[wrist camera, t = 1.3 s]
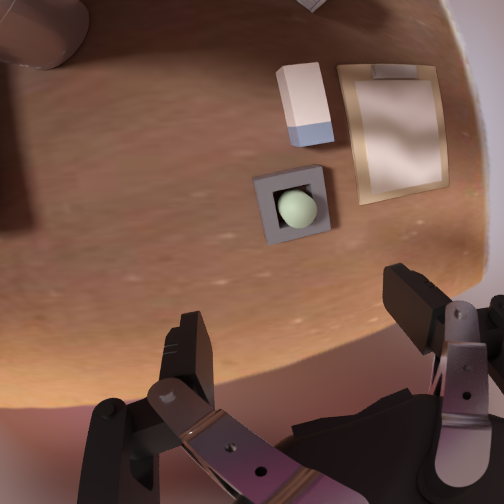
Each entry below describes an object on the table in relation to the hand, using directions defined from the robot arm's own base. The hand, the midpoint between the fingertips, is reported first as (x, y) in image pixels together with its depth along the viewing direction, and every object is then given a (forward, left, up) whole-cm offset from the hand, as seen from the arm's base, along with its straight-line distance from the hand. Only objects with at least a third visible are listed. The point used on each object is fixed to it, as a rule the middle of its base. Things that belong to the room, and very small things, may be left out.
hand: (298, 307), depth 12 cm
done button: (+2, +4, -20) cm, 20 cm away
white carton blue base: (-8, +7, -21) cm, 24 cm away
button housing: (+2, +4, -21) cm, 22 cm away
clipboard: (-4, +19, -21) cm, 29 cm away
